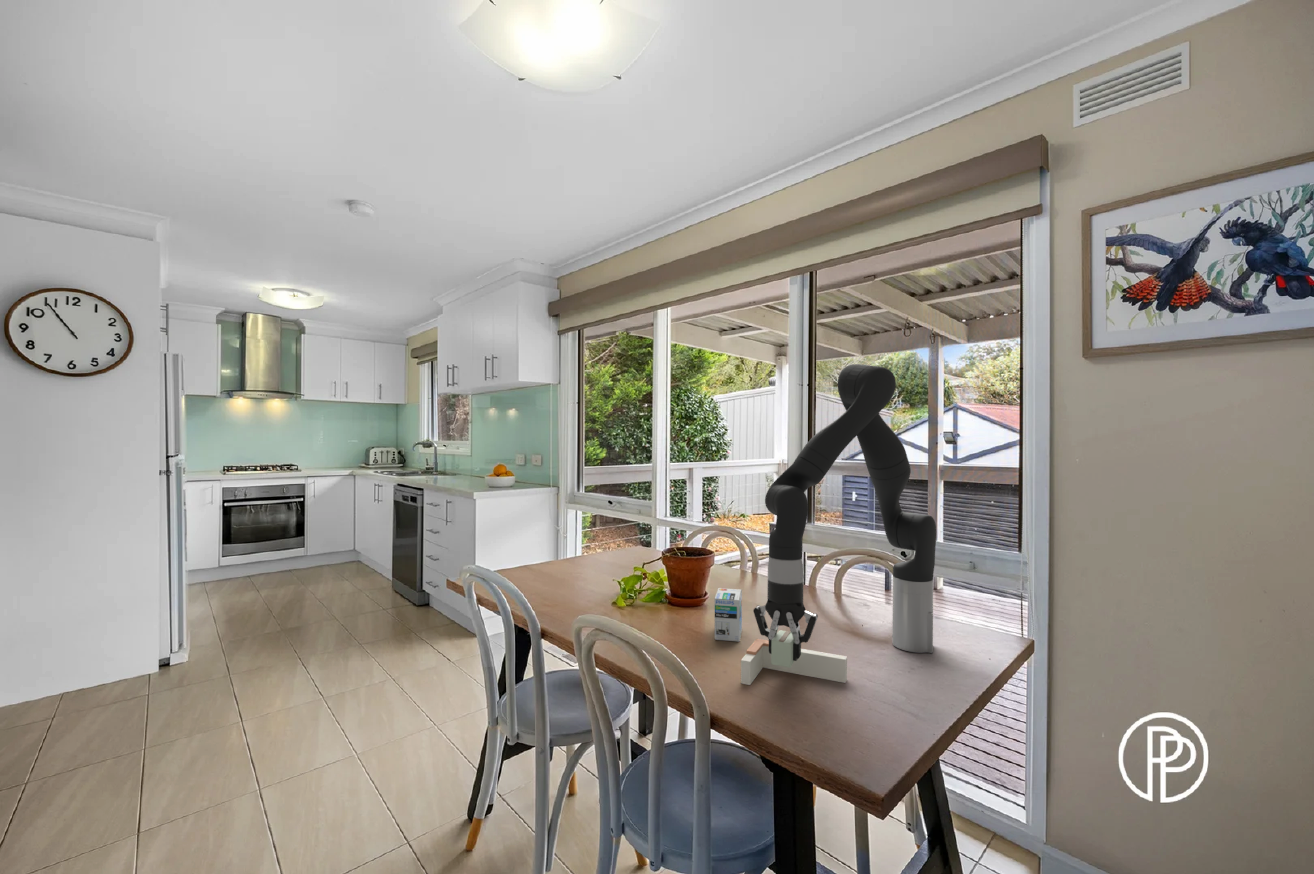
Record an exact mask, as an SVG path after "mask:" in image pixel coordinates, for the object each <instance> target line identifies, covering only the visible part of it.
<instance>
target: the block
mask: <svg viewBox="0 0 1314 874" xmlns="http://www.w3.org/2000/svg"><path fill="white" fill-rule="evenodd" d="M793 643H794V640H793V636H792V633H791V631H790V630H782V629H781V630H780V629H778V631H777V634H776V635H775V637H774V638H773V639H772V645H771V664H774V665H779V666H785V667H791V666H792V664H793V662H794V661H793Z"/></svg>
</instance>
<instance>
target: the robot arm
mask: <svg viewBox="0 0 1314 874" xmlns="http://www.w3.org/2000/svg"><path fill="white" fill-rule="evenodd" d="M896 384H897V383H896V378H895V375H894V373H893V372H892V371H891V370H890V369H888V368H887V367H883V366H878V365H869V364H861V363H856V364H855V363H854V364H852V363H851V364H849V365H846V366H845V367H843V369H841V371H840V372H839V374H838V378H837V392H838V395H839V398H840V400H841V402H842V406H843V407H844V409H845V412H844V413H842V414H841V415H840V416H839V417H838V418H837V419H835V420H834V421H833V422H830V424H828V425H826V426H825V427H824V428H823V429H820V431H818V432H817V433H816V434H815V435H813V436H812V437H810V438H809V441H807V443H806V444H805V445H804V446H803V448H802V449H801V451H800V453H799V454H798V455H797V456H796V458H795V460H794V461H793V462H792V464H791V465H790V466H788V468H786V469H785V470H784V471H783V472H782V473H781V474H780V475H779V476H778V477H777V478H776V480H774V481H773V483H772V484H771V485H770V486H769V488H768V490H767V492H766V494H765V499H764V504H765V506H766V509H767V510H768V511H769V512H770V513H771V514H773V515H775V516H776V519H775V520H776V521H775V528H774V529H773V530H771V532H770V533H769V537H768V561H767V596H766V597H767V599H766V603H765V605H760V604H758V605H756V607H754V608H753V614H754V618H755V621H756V623H757V626H758V627H757V628H758V630H759V634H760V635H761V636H764V637H766V638H767V639H768V641H769V653H770V654H771V645H772V639H773V638H774V637H775V635H776V634H777V633H778V632H779V628H780V627H781V626H785V627H787V628H789V631H791V633H792V636H793V640H794V643H793V661H797V659H799V657H800V655H801V649H802V643H808V641H809V639H811V637H812V633H813V631H814V629H815V625H816V623H817V620H818V617H819V615H818V614H817V613H816V612H814V613H812V612H810V611H808V610H806V607H805V605H804V579H805V573H804V572H805V571H804V563H803V537H804V534H805V531H806V525H807V520H808V516H809V515H808V514H809V501H808V497H807V495H806V493H805V492H806V491H807V490H808V489H809V488H810V487H814V486H816V485H819V483H820V482H821V481H822V480H823V479H824V477H825V476H826V474H828V471H829V470H830V469H831V467H833V465H834V463H835V462H836V461H837V459H838V458H839V457H840V455H841V454H842V452H843V451H844V450H845V449H846V447H847V446H848V445H849V444H850V443H851V442H852V441H853V440H854V439H855V438H856V437H857V440H858V441H857V442H858V443H859V446H860V449H861V452H862V455H863V458H864V462H865V467H866V468H867V471H868V474H869V478H870V479H871V483H872V485H873V487H874V488H873V489H874V491H875V495H876V498H877V502H878V506H879V508H880V514H881V519H882V522H883V527H884V533H885V536H886V539H887V541H888V543H889V544H890V545H891V546H892V547H894V548H896V549H902V550H908V551H914V555H913V558H912V559H909V560H905V561H901V562H896V563H894V564H893V567H892V621H891V622H892V624H891V625H892V629H891V630H892V633H891V634H892V635H891V638H892V645H893V646H894V647H895V648H897V649H899V650H902V651H906V652H910V653H920V654H921V653H922V654H923V653H931V654H932V653H934V648H933V647H934V571H935V563H936V544H937V543H936V542H937V524H936V521H935V518H934V517H933V516H931V515H930V514H924V513H916V512H907V511H904V510H903V509H902V507H901V505H900V497H901V495H902V493H903V491H904V490H905V488H906V486H907V484H908V482H909V480H910V478H911V470H912V469H911V465H910V462H909V458H908V455H907V451H906V449H905V446H904V444H903V443H902V441H901V440H900V438H899V436H898V435H897V434H896V433H895V432H894V430H893V429H892V428H891V427H890V426H889V424H888V423H886V421H885V420H884V419H883V418H882V416H881V414H880V412H881V411H883V409H884V408H885V407H886V406H887V405H888V403H889V402H890V401H891V400H892V398H893V396H894V394H895V391H896ZM766 613H767V614H768V616H769V617H770V619H771V624H770V628H769V627H768V623H767V620H766ZM803 617H805V623H806V624H807V626H806V628H805V630H804V633H803V634H802V633H801V626H800V621H801V620H802V618H803Z"/></svg>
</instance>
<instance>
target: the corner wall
mask: <svg viewBox="0 0 1314 874" xmlns="http://www.w3.org/2000/svg"><path fill="white" fill-rule="evenodd" d="M763 669H769V670H774V671H779V672H785V673H791V674H795V675H801V676H807V677H812V678H815V679H817V678H818V679H822V680H827V681H831V682H832V681H833V682H837V683H838V682H839V683H845V684H846V683H847V680H848V656H846V655H841V654H835V653H829V652H822V651H818V650H813V649H805V648H801V655H800V657H799V659H797V661H794V662H793V664H792V666H791V667H785V666H779V665H774V664H771V654H770V653H769V639H768V640H767V639H763V638H762V639H761V638H755V640H754V641H753V643H751V645H749V647H748V648H747V649H746V653H745V655H744V656H743V657H742V658H741V660H740V684H743V685H748V686H751V685H752V683H753V682H754V681H755V679H756V677H757V676H758V675H759V674H760V672H761V671H762V670H763Z"/></svg>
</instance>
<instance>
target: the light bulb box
mask: <svg viewBox="0 0 1314 874" xmlns="http://www.w3.org/2000/svg"><path fill="white" fill-rule="evenodd" d="M714 596H715V597H714V598H713V599H714V601H713V602H714V640H717V641H730V642H740V641H741V637H742V633H743V589H739V588H737V589H735V588H723V587H718V588H717V591H716V594H715V595H714Z"/></svg>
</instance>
